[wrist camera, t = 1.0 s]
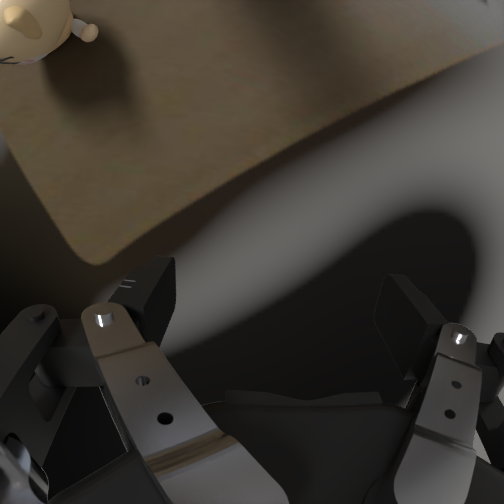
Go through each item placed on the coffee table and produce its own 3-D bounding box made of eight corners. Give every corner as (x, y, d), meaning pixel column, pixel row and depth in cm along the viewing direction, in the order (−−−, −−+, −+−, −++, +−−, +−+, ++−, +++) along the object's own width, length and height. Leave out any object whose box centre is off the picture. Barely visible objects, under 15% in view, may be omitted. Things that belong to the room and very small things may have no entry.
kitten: (3, 24, 22) (-65, 4, 9) (61, -28, 21) (8, -74, 8) (48, 96, 28) (-27, 94, 15) (112, 40, 27) (61, 1, 14)
